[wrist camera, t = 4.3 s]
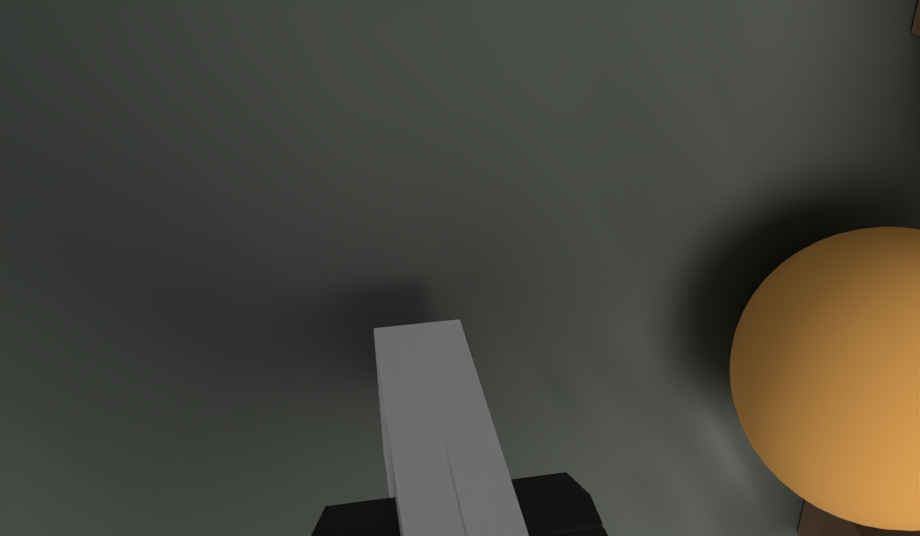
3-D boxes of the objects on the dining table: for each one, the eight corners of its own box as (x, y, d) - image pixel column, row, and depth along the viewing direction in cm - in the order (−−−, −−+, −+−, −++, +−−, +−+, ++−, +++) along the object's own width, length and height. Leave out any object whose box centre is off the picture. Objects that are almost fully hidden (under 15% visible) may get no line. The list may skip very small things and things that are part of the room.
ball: (994, 179, 17) (711, 189, 17) (1199, 309, 12) (795, 320, 12) (943, 410, 19) (695, 415, 19) (1098, 600, 14) (760, 601, 15)
